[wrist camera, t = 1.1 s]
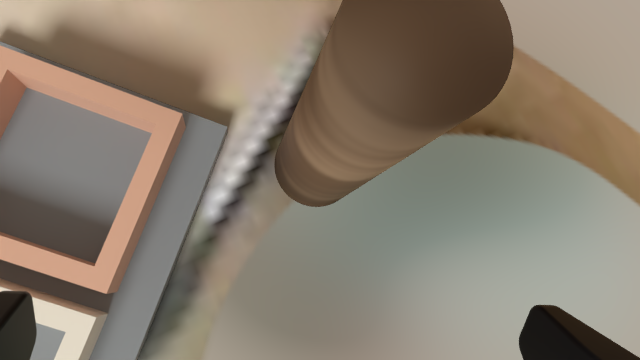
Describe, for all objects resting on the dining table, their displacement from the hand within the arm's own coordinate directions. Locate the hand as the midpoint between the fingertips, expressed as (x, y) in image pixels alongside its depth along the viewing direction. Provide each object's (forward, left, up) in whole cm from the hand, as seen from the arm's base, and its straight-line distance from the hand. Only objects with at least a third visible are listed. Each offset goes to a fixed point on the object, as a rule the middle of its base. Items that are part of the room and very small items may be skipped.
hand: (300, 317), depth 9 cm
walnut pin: (+7, -1, -14) cm, 16 cm away
